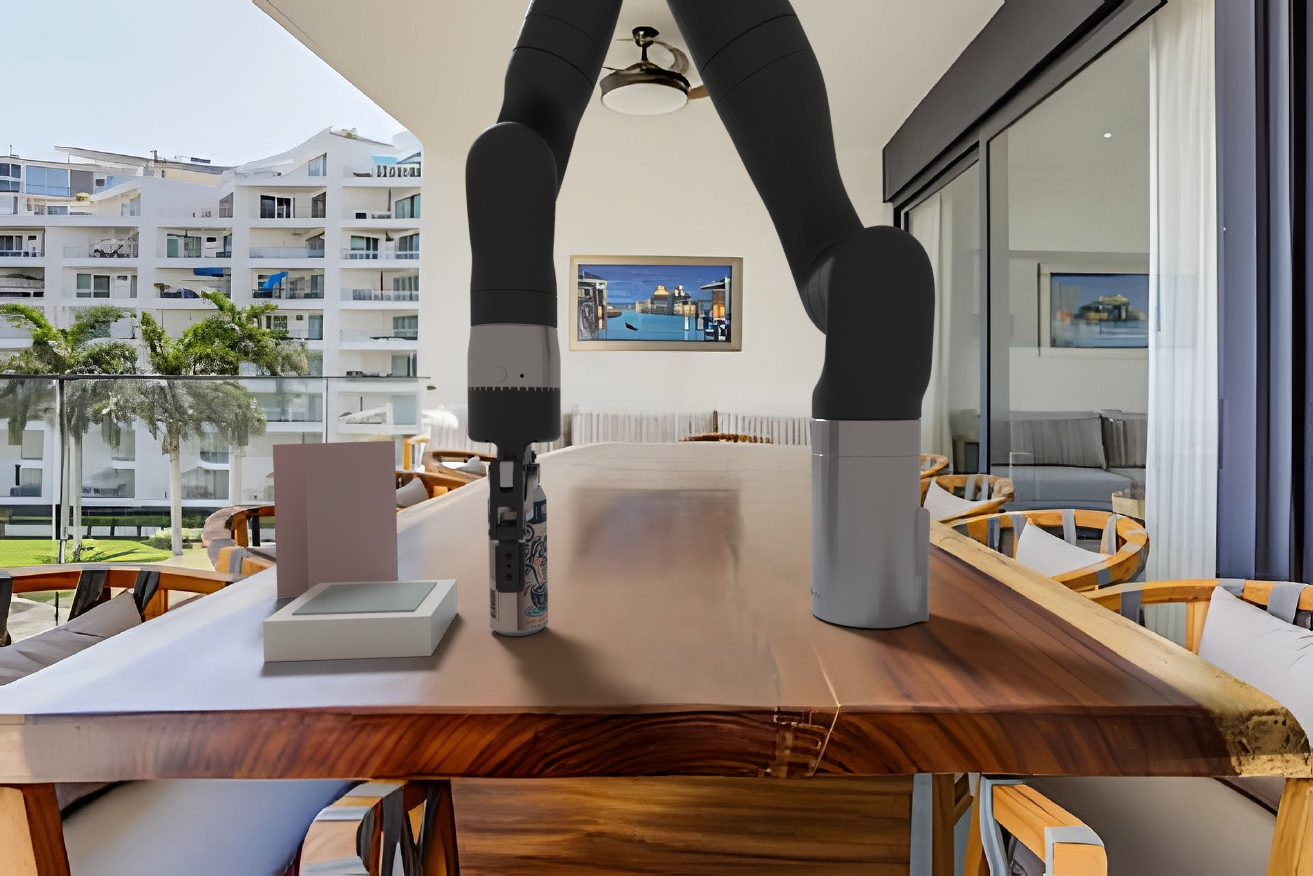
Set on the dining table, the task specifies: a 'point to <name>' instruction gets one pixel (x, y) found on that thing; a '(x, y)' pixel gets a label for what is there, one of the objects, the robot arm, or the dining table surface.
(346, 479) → the greeting card
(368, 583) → the picture frame
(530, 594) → the beer can
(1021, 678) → the dining table surface
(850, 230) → the robot arm
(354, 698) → the dining table surface
